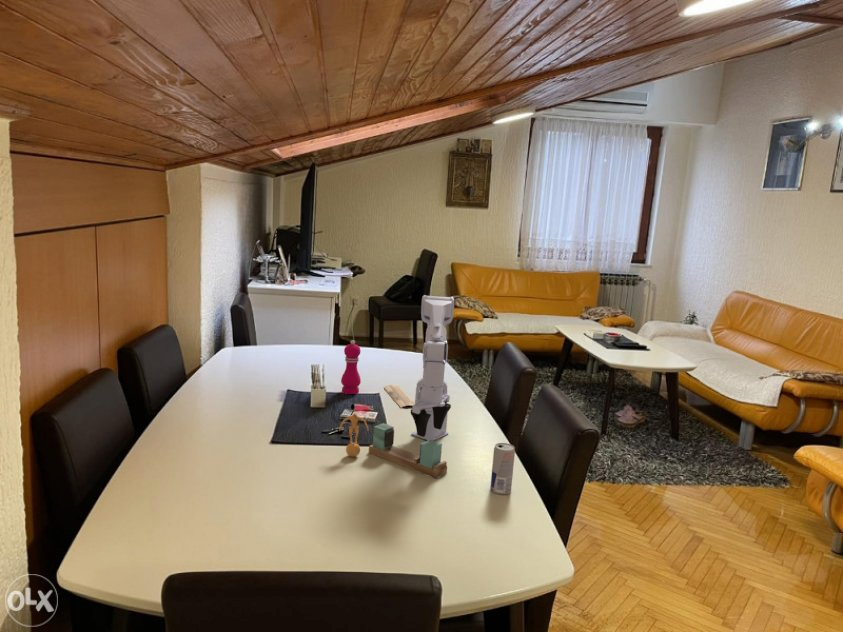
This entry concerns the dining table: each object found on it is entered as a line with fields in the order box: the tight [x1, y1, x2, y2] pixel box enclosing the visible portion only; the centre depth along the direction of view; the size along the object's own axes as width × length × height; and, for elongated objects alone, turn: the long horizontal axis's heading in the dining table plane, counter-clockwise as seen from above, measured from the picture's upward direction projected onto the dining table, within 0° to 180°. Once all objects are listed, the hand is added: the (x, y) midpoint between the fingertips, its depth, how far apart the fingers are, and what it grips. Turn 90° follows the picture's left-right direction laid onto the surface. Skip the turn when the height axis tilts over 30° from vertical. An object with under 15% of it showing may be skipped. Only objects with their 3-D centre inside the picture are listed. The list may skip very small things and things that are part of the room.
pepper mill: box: [340, 339, 362, 395], centre depth 233 cm, size 7×7×20 cm
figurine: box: [338, 413, 369, 458], centre depth 178 cm, size 8×6×12 cm
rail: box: [368, 423, 448, 479], centre depth 176 cm, size 5×24×8 cm, turn 53°
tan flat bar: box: [383, 384, 415, 409], centre depth 233 cm, size 24×7×2 cm, turn 18°
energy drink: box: [490, 442, 516, 496], centre depth 162 cm, size 5×5×12 cm
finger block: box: [419, 440, 443, 469], centre depth 171 cm, size 4×5×6 cm
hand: (429, 432), depth 174 cm, fingers open, 7 cm apart
